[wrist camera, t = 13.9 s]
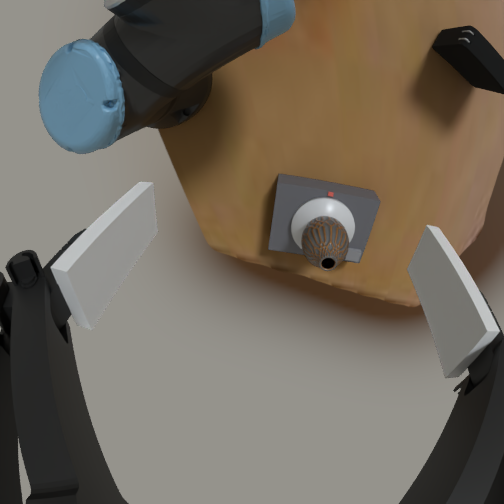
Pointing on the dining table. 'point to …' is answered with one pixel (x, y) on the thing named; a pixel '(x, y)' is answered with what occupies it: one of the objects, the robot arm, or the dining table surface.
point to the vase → (325, 242)
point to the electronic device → (472, 57)
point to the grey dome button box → (321, 212)
